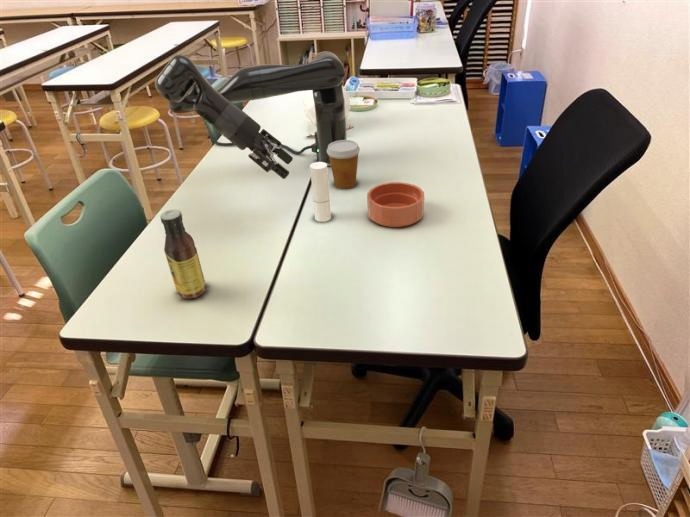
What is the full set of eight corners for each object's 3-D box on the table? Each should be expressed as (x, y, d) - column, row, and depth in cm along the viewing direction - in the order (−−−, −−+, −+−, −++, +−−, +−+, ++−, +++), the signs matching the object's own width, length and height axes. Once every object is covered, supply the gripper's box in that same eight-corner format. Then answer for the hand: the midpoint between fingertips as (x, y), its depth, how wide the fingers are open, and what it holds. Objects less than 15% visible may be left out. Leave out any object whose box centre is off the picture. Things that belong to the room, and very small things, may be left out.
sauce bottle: (180, 284, 116) (158, 206, 105) (208, 282, 116) (189, 203, 105) (175, 302, 111) (150, 222, 100) (204, 300, 111) (183, 219, 100)
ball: (352, 98, 201) (340, 50, 180) (359, 150, 190) (346, 106, 169) (309, 107, 203) (291, 61, 182) (313, 159, 192) (295, 116, 171)
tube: (329, 222, 136) (324, 169, 127) (313, 221, 137) (308, 168, 128) (332, 214, 139) (328, 162, 131) (317, 213, 140) (312, 161, 132)
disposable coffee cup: (366, 179, 156) (364, 141, 149) (353, 193, 149) (351, 153, 142) (337, 175, 159) (335, 137, 153) (323, 188, 152) (320, 149, 146)
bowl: (356, 218, 137) (355, 198, 133) (389, 197, 146) (388, 177, 142) (402, 235, 129) (403, 213, 125) (433, 211, 138) (434, 191, 134)
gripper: (233, 126, 132) (283, 167, 138) (220, 148, 120) (276, 191, 126) (250, 105, 129) (301, 147, 134) (239, 125, 117) (295, 170, 123)
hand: (289, 168), depth 130 cm, fingers open, 8 cm apart
